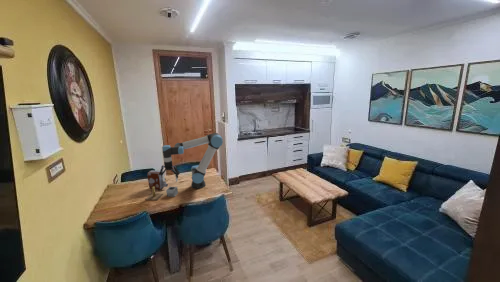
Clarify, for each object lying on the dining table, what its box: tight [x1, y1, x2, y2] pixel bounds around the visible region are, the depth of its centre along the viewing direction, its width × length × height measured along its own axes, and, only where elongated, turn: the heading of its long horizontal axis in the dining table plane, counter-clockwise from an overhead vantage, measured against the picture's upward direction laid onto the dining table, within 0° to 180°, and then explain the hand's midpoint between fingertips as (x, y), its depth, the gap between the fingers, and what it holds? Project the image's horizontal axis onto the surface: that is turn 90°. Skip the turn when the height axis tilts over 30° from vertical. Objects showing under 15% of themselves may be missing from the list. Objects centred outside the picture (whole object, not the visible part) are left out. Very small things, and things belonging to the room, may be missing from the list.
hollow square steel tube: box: [165, 186, 179, 198], centre depth 218 cm, size 8×8×7 cm
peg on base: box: [144, 187, 164, 201], centre depth 213 cm, size 12×12×11 cm
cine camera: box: [147, 169, 169, 191], centre depth 231 cm, size 9×19×20 cm, turn 78°
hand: (170, 181), depth 216 cm, fingers open, 13 cm apart
